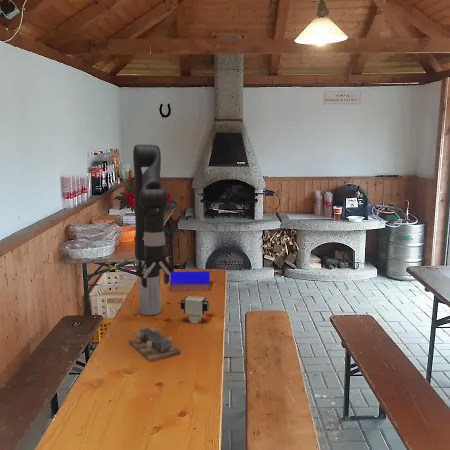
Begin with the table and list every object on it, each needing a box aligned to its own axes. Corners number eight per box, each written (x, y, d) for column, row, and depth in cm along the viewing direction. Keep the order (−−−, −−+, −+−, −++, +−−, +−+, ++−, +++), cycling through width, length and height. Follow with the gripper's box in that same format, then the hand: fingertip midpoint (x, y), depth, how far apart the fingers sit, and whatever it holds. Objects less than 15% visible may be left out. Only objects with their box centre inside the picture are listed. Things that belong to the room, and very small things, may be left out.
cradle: (128, 342, 184) (128, 330, 184) (157, 336, 191) (157, 323, 190) (150, 361, 168) (149, 347, 167) (180, 354, 174) (180, 340, 173)
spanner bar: (139, 339, 184) (139, 329, 184) (147, 337, 186) (147, 327, 186) (161, 353, 172) (160, 342, 171) (169, 350, 174) (169, 340, 173)
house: (172, 290, 254) (171, 268, 252) (209, 289, 255) (209, 268, 253) (170, 297, 242) (169, 274, 240) (209, 296, 243) (209, 274, 241)
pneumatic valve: (207, 325, 202) (206, 298, 200) (180, 323, 204) (180, 296, 203) (210, 321, 207) (210, 294, 206) (184, 319, 210) (183, 292, 208)
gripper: (167, 239, 183) (168, 280, 186) (132, 243, 175) (133, 285, 178) (176, 242, 176) (177, 285, 179) (140, 247, 169) (141, 291, 172)
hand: (155, 285), depth 179 cm, fingers open, 8 cm apart
